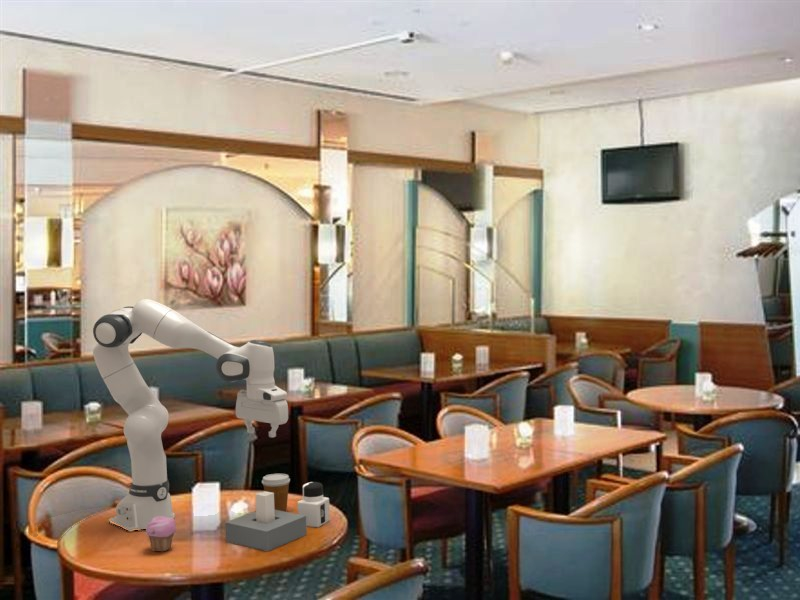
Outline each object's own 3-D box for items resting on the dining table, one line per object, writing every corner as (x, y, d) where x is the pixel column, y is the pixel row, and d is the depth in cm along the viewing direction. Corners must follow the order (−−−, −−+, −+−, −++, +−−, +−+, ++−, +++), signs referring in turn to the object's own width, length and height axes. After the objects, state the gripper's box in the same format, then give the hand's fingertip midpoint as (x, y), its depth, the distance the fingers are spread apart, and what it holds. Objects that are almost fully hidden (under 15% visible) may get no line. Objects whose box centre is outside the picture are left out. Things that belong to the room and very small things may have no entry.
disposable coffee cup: (270, 506, 313) (269, 472, 312) (295, 508, 310) (294, 474, 309) (258, 514, 304) (256, 479, 303) (283, 516, 301) (282, 481, 300)
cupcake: (155, 544, 277) (153, 512, 276) (181, 545, 276) (180, 512, 275) (142, 554, 268) (140, 521, 268) (169, 555, 267) (168, 522, 266)
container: (330, 520, 296) (328, 481, 295) (318, 527, 289) (317, 487, 288) (309, 518, 299) (308, 479, 298) (297, 525, 292) (296, 485, 291)
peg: (257, 538, 280) (255, 494, 279) (266, 535, 283) (264, 491, 282) (266, 540, 277) (264, 496, 276) (275, 537, 281) (273, 492, 280)
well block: (225, 541, 278) (225, 522, 278) (265, 525, 292) (264, 507, 292) (267, 551, 268) (266, 531, 267) (306, 534, 282) (305, 515, 282)
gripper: (230, 390, 289) (231, 432, 290) (277, 396, 277) (277, 440, 278) (244, 387, 294) (245, 429, 295) (291, 393, 282) (291, 437, 283)
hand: (261, 435), depth 287 cm, fingers open, 8 cm apart
